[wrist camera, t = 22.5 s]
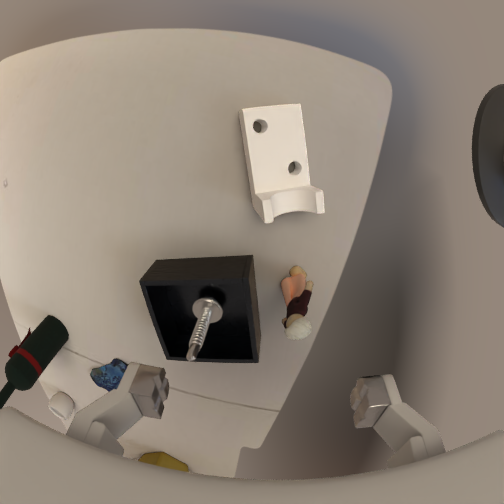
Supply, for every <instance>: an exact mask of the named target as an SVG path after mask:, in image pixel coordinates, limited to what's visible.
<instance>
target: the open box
mask: <svg viewBox="0 0 504 504" xmlns="http://www.w3.org/2000/svg"><path fill="white" fill-rule="evenodd" d="M139 282H140V285H141V289H142V292H143V295H144V298H145V301H146V304H147V307H148V310H149V313H150V316H151V319H152V322H153V325H154V327H155V330H156V333H157V336H158V338H159V341H160V344H161V346H162V349H163V351H164V354H165V356H166V359H167V360H178V361H188V360H187V359H186V356H187V353H188V350H189V341H190V339H191V336H192V333H193V331H194V328H195V325H196V323H197V320H198V318H197V317H196V316H195V315H194V313H193V304H194V302H195V301H196V300H197V299H199V298H202V297H208V298H210V297H213V298H214V299H215V300H216V301H217V302H219V304H220V305H221V306H222V309H223V314H222V317H221V319H220V320H219V321H217V322H214V323H210V324H209V326H208V329H207V333H206V336H205V339H204V342H203V345H202V348H201V349H200V351H199V352H198V354H197V357H196V359H195V360H193V361H194V362H219V363H258V362H259V352H260V341H261V330H260V320H259V311H258V301H257V291H256V281H255V271H254V262H253V255H246V256H226V257H206V258H186V259H165V260H156V261H155V262H154V263H153V265H152V266H151V267H150V268H149V269H148V271H147V272H146V273H145V274H144V276H143V277H142V278H141V279H140V281H139Z"/></svg>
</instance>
